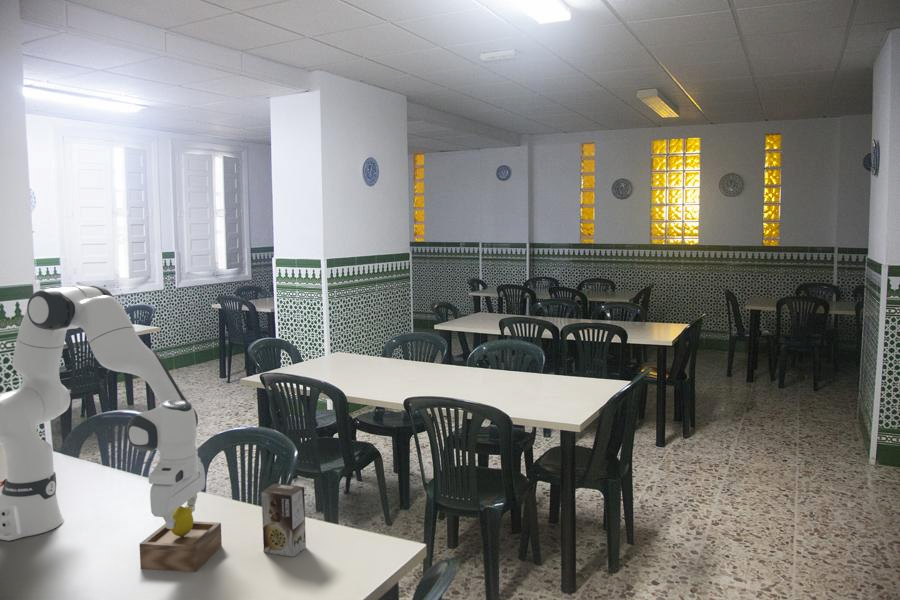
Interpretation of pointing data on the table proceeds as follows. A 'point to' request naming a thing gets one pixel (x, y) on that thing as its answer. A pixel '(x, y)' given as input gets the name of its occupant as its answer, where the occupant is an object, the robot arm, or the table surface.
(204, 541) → the walnut base
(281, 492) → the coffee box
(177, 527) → the lemon
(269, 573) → the table surface
